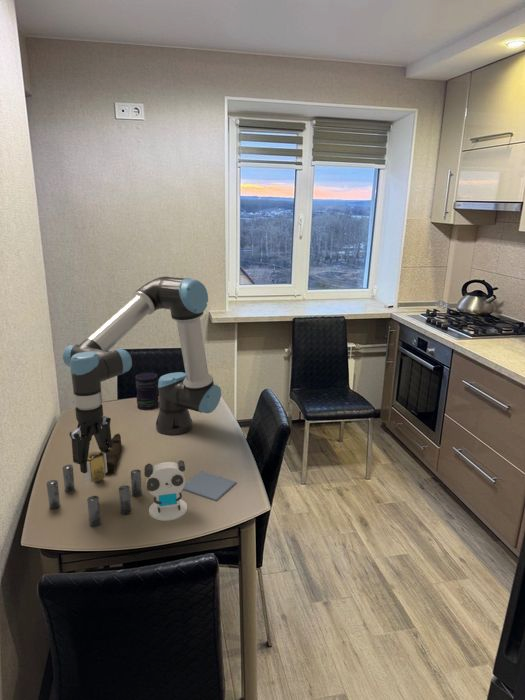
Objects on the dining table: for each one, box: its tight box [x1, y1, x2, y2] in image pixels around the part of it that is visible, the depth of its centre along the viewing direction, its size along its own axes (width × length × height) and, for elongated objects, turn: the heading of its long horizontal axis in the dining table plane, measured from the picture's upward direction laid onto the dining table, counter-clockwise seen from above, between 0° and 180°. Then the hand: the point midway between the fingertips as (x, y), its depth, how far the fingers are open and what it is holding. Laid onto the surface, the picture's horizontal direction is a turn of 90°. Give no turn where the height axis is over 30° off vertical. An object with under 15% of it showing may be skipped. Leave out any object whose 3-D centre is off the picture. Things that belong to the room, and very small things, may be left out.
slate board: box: [182, 470, 237, 502], centre depth 155 cm, size 12×14×1 cm
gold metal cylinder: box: [87, 451, 106, 483], centre depth 143 cm, size 6×6×7 cm
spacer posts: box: [46, 464, 143, 528], centre depth 145 cm, size 20×27×8 cm
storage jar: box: [135, 372, 159, 411], centre depth 218 cm, size 10×10×15 cm
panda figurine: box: [143, 459, 188, 522], centre depth 141 cm, size 12×11×15 cm
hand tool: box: [105, 433, 122, 475], centre depth 171 cm, size 23×5×6 cm, turn 4°
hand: (95, 475), depth 144 cm, fingers closed on gold metal cylinder, 5 cm apart
